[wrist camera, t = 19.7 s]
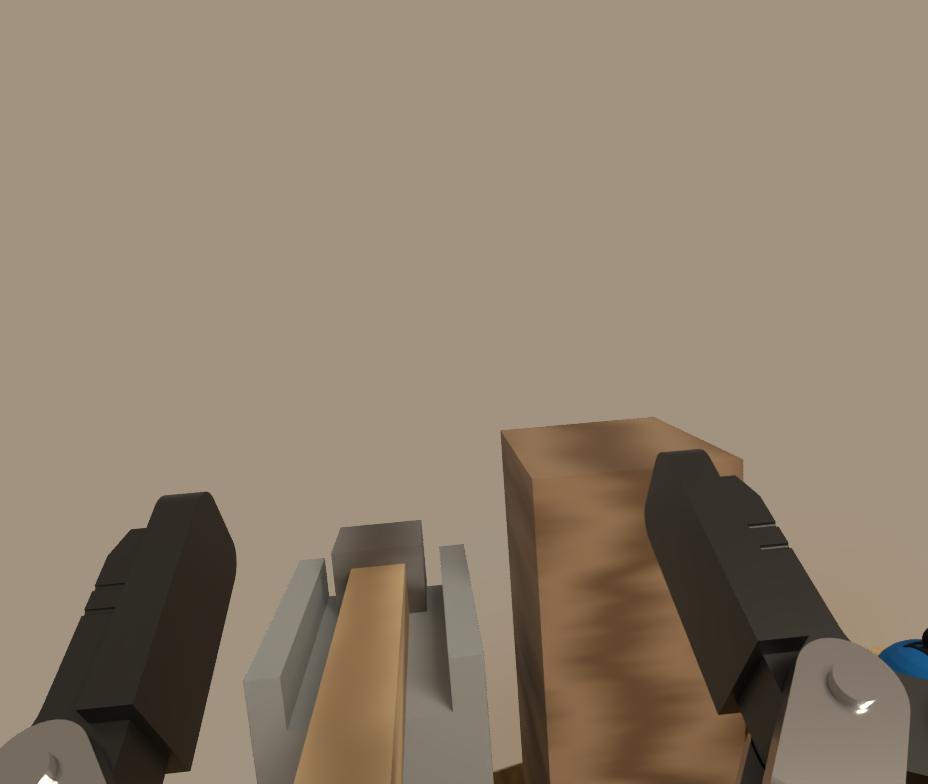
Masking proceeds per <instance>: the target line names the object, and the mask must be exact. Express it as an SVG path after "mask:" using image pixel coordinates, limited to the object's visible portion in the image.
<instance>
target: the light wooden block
mask: <svg viewBox="0 0 928 784" xmlns="http://www.w3.org/2000/svg"><path fill="white" fill-rule="evenodd" d="M331 556H332V565H333V574H334V583H335V592H336V601H337V609H338V620H337V624H336V627H335V631H334V635H333V639H332V642H331V646H330V650H329V654H328V657H327V661H326V665H325V669H324V672H323V676H322V680H321V683H320V687H319V691H318V695H317V698H316V702H315V706H314V710H313V713H312V717H311V721H310V725H309V728H308V732H307V736H306V740H305V743H304V747H303V751H302V754H301V758H300V762H299V766H298V769H297V773H296V777H295V781H294V784H403V766H404V740H405V715H406V690H407V664H408V639H409V614H410V613H418V612H427V586H426V585H427V584H426V582H427V580H426V569H425V558H424V546H423V535H422V525H421V520H416V521H405V522H395V523H386V524H385V523H384V524H374V525H363V526H353V527H343V528H340V531H339V534H338V537H337V539H336V542H335V545H334V548H333V551H332V553H331Z"/></svg>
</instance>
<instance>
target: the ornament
mask: <svg viewBox="0 0 928 784" xmlns="http://www.w3.org/2000/svg"><path fill="white" fill-rule="evenodd" d="M878 657H879V658H880V659H881V660H883V661H884V662H885V663H886V664H887V665H888V666H889V667H890V668H891V669H892V670H893V671H896V672H898V673H901V674H904V675H908V676H912V677H916V678H921V679H926V680H928V628H927V629H926V630H925V632H924V633H923V636H922V640H921V639H910V640H905V641H901V642H898V643H895V644H893V645H891V646H889V647H888V648H886V649H884V650H883V651H882V652H881V653H880V654H879V655H878Z"/></svg>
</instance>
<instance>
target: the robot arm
mask: <svg viewBox="0 0 928 784" xmlns="http://www.w3.org/2000/svg"><path fill="white" fill-rule="evenodd" d="M644 517H645V526H646V531H647V535H648V538H649V541H650V543H651V546H652V548H653V551H654V554H655V556H656V559H657V561H658V564H659V566H660V569H661V571H662V574H663V576H664V579H665V581H666V584H667V586H668V589H669V592H670V594H671V597H672V599H673V602H674V604H675V607H676V609H677V612H678V614H679V617H680V619H681V622H682V625H683V627H684V630H685V632H686V635H687V637H688V640H689V642H690V645H691V647H692V650H693V652H694V655H695V657H696V660H697V663H698V665H699V668H700V670H701V673H702V675H703V678H704V680H705V683H706V685H707V688H708V690H709V693H710V695H711V698H712V701H713V703H714V706H715V708H716V711H717V713H718V715H724V714H733V713H741V714H742V716H743V719H744V721H745V723H746V726H747V728H748V730H749V733H748V736H747V738H746V742H745V746H744V750H743V753H742V757H741V761H740V765H739V769H738V773H737V777H736V781H735V784H928V680H926V679H921V678H916V677H912V676H908V675H904V674H901V673H898V672H896V671H893V670H892V669H891V668H890V667H889V666H888V665H887V664H886V663H885V662H884V661H883V660H881V659H880V658H879V657H878V656H877V655H875V654H874V653H872V652H871V651H869V650H868V649H866V648H864V647H862V646H859V645H858V644H855V643H853V642H851V641H850V640H849V639H848V638H847V637H846V635H845V634H844V633H843V631H842V630H841V629H840V627H839V625H838V624H837V622H836V621H835V619H834V617H833V616H832V614H831V612H830V611H829V609H828V607H827V606H826V604H825V602H824V601H823V599H822V597H821V596H820V594H819V593H818V591H817V589H816V588H815V586H814V584H813V583H812V581H811V579H810V578H809V576H808V575H807V573H806V571H805V570H804V568H803V566H802V564H801V563H800V561H799V560H798V558H797V556H796V555H795V553H794V551H793V550H792V548H789V546H788V541H787V540H786V538H785V536H784V535H783V533H782V532H781V530H780V528H779V527H776V525H775V520H774V518H773V517H772V515H771V514H770V512H769V510H768V508H767V507H766V505H765V504H764V502H763V500H762V499H761V497H760V496H759V495H758V494H757V493H756V492H755V491H753V490H752V489H751V488H750V487H749V486H747V485H746V484H745V483H744V482H743V481H742V480H740V479H739V478H738V477H737V476H736V475H731V476H720V475H719V473H718V471H717V469H716V467H715V466H714V464H713V462H712V460H711V459H710V457H709V455H708V454H707V453H706V451H704V450H703V449H691V450H680V451H669V452H660V453H659V454H658V455H657V457H656V461H655V465H654V469H653V473H652V477H651V482H650V486H649V490H648V494H647V499H646V503H645V510H644ZM235 576H236V551H235V547H234V543H233V540H232V538H231V536H230V534H229V532H228V530H227V527H226V525H225V523H224V521H223V518H222V516H221V514H220V512H219V510H218V507H217V505H216V503H215V501H214V499H213V497H212V495H211V494H210V493H209V492H198V493H188V494H176V495H165V496H162V497H161V498H160V499H159V500H158V501H157V503H156V505H155V507H154V510H153V512H152V515H151V518H150V520H149V523H148V525H147V528H141V529H131V530H130V531H129V532H128V533H127V534H126V536H125V537H124V538H123V539H122V540H121V541H120V542H119V544H118V545H117V546H116V547H115V549H114V550H112V552H111V553H110V554H109V555H108V556H107V559H106V561H105V563H104V566H103V568H102V570H101V572H100V575H99V577H98V579H97V582H96V584H95V588H96V589H95V591H92V593H91V596H90V598H89V600H88V603H87V605H86V607H85V615H84V616H81V619H80V621H79V623H78V626H77V628H76V630H75V633H74V635H73V637H72V640H71V642H70V644H69V647H68V649H67V651H66V654H65V656H64V658H63V661H62V663H61V665H60V667H59V670H58V672H57V674H56V677H55V679H54V681H53V684H52V686H51V688H50V690H49V693H48V695H47V697H46V700H45V702H44V704H43V707H42V709H41V711H40V713H39V715H38V717H37V718H36V720H35V721H34V723H33V725H32V726H31V727H29V728H27V729H26V730H24V731H22V732H21V733H19V734H17V735H16V736H15V737H13V738H12V739H11V740H9V741H8V742H7V743H6V744H5V745H3V746H2V747H1V748H0V784H163V780H164V777H165V774H169V773H178V772H187V771H190V770H191V766H192V762H193V758H194V753H195V749H196V745H197V740H198V736H199V732H200V727H201V723H202V719H203V715H204V710H205V705H206V702H207V697H208V693H209V689H210V684H211V680H212V676H213V671H214V667H215V663H216V658H217V654H218V650H219V646H220V641H221V637H222V632H223V628H224V624H225V620H226V615H227V611H228V606H229V602H230V598H231V593H232V589H233V585H234V580H235Z"/></svg>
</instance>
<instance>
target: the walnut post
mask: <svg viewBox="0 0 928 784" xmlns="http://www.w3.org/2000/svg"><path fill="white" fill-rule="evenodd" d="M501 444H502V459H503V473H504V489H505V504H506V519H507V534H508V548H509V564H510V579H511V592H512V609H513V624H514V639H515V654H516V669H517V683H518V699H519V713H520V729H521V743H522V759H523V774H524V784H735V781H736V777H737V773H738V769H739V765H740V761H741V757H742V753H743V750H744V746H745V721H744V719H743V716H742V714H741V713H733V714H724V715H718V713H717V711H716V708H715V706H714V703H713V701H712V698H711V695H710V693H709V690H708V688H707V685H706V683H705V680H704V678H703V675H702V673H701V670H700V668H699V665H698V663H697V660H696V657H695V655H694V652H693V650H692V647H691V645H690V642H689V640H688V637H687V635H686V632H685V630H684V627H683V625H682V622H681V619H680V617H679V614H678V612H677V609H676V607H675V604H674V602H673V599H672V597H671V594H670V592H669V589H668V586H667V584H666V581H665V579H664V576H663V574H662V571H661V569H660V566H659V564H658V561H657V559H656V556H655V554H654V551H653V548H652V546H651V543H650V541H649V538H648V535H647V531H646V526H645V517H644V510H645V503H646V499H647V494H648V490H649V486H650V482H651V477H652V473H653V469H654V465H655V461H656V457H657V455H658V454H659V453H660V452H669V451H680V450H691V449H703V450H704V451H706V453H707V454H708V455H709V457H710V459H711V460H712V462H713V464H714V466H715V467H716V469H717V471H718V473H719V475H720V476H731V475H736V476H737V477H738V478H739V479H740V480H742V481H743V459H741V458H739V457H736V456H734V455H732V454H730V453H728V452H726V451H724V450H722V449H720V448H718V447H716V446H714V445H711V444H709V443H707V442H705V441H703V440H701V439H699V438H697V437H695V436H693V435H690V434H688V433H686V432H684V431H682V430H680V429H678V428H676V427H674V426H671V425H669V424H667V423H665V422H663V421H661V420H659V419H657V418H655V417H648V418H637V419H626V420H614V421H604V422H592V423H580V424H570V425H559V426H546V427H535V428H524V429H513V430H501Z"/></svg>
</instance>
